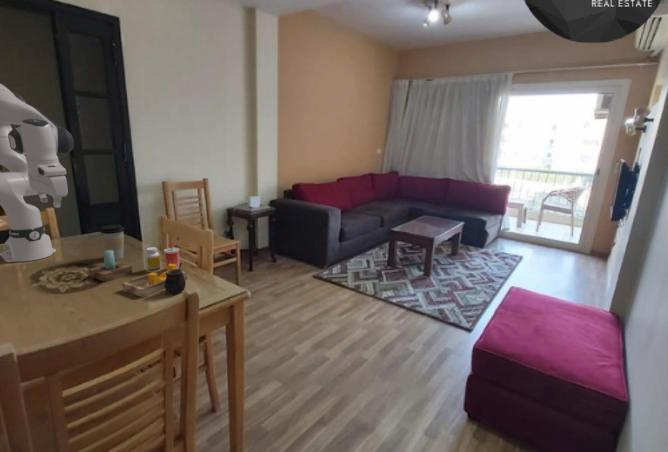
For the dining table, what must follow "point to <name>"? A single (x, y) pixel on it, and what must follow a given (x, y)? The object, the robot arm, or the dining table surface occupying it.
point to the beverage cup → (172, 255)
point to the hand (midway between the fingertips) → (50, 204)
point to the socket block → (110, 272)
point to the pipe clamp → (154, 276)
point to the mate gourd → (174, 281)
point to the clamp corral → (134, 284)
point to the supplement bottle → (152, 259)
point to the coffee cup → (114, 239)
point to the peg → (109, 260)
